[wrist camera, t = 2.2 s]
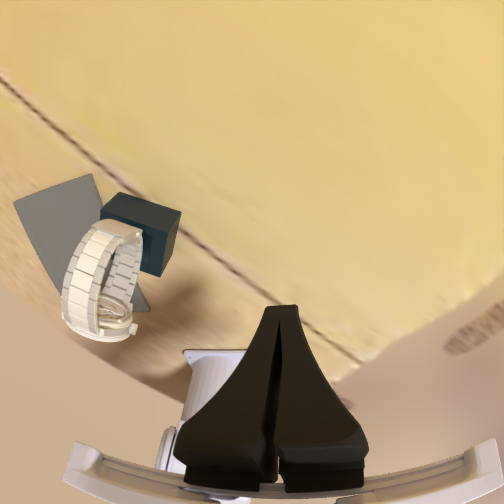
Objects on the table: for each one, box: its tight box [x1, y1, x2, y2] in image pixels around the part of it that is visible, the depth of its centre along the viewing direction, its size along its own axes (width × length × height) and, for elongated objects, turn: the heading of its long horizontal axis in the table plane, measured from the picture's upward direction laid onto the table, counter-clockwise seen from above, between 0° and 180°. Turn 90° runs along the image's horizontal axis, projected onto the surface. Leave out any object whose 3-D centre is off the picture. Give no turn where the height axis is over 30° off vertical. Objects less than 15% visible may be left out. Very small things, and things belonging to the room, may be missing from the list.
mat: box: [13, 174, 150, 312], centre depth 26 cm, size 15×12×1 cm
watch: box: [61, 192, 181, 342], centre depth 19 cm, size 6×8×11 cm
